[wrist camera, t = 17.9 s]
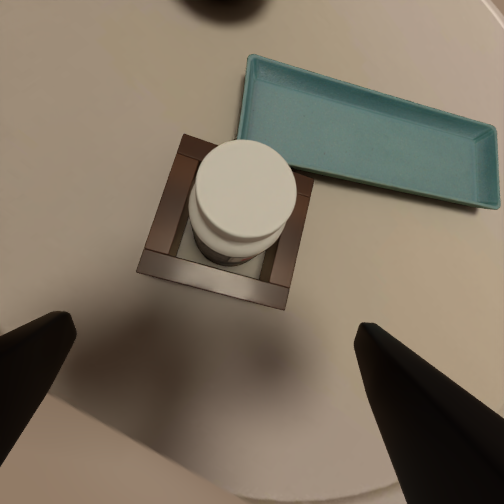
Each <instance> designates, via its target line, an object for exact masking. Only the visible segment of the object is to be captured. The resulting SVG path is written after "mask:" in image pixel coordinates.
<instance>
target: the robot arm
mask: <svg viewBox="0 0 504 504" xmlns="http://www.w3.org/2000/svg"><path fill="white" fill-rule="evenodd" d="M76 336H77V331H76V328H75V325H74V323H73V320H72V317H71V315H70V314H69V313H68V312H65V311H53V312H50V313H48V314H46V315H44V316H42V317H40V318H37V319H35V320H33V321H31V322H29V323H27V324H25V325H23V326H21V327H19V328H17V329H14V330H12V331H10V332H8V333H6V334H4V335H2V336H0V466H1V465H2V463H3V462H4V460H5V459H6V457H7V455H8V454H9V452H10V451H11V449H12V448H13V446H14V445H15V443H16V441H17V440H18V438H19V437H20V435H21V433H22V432H23V430H24V429H25V427H26V426H27V424H28V422H29V421H30V419H31V418H32V416H33V414H34V413H35V411H36V410H37V408H38V407H39V405H40V404H41V402H42V400H43V399H44V397H45V396H46V394H47V392H48V391H49V389H50V387H51V385H52V384H53V382H54V380H55V378H56V376H57V374H58V372H59V370H60V368H61V366H62V365H63V363H64V361H65V359H66V357H67V355H68V353H69V351H70V349H71V347H72V345H73V343H74V341H75V339H76ZM354 350H355V353H356V357H357V361H358V365H359V369H360V372H361V376H362V380H363V384H364V387H365V391H366V394H367V398H368V401H369V403H370V406H371V409H372V412H373V414H374V417H375V420H376V422H377V425H378V427H379V430H380V433H381V435H382V438H383V441H384V443H385V446H386V449H387V451H388V454H389V457H390V459H391V462H392V465H393V467H394V470H395V473H396V475H397V478H398V481H399V483H400V486H401V488H402V491H403V494H404V496H405V499H406V502H407V504H504V418H502V417H501V416H500V415H498V414H497V413H495V412H494V411H493V410H491V409H490V408H489V407H487V406H486V405H485V404H483V403H482V402H481V401H479V400H478V399H477V398H475V397H474V396H473V395H471V394H470V393H469V392H467V391H466V390H464V389H463V388H462V387H460V386H459V385H458V384H456V383H455V382H454V381H452V380H451V379H450V378H448V377H447V376H446V375H444V374H443V373H442V372H440V371H439V370H438V369H436V368H435V367H433V366H432V365H431V364H429V363H428V362H427V361H425V360H424V359H423V358H421V357H420V356H419V355H417V354H416V353H415V352H413V351H412V350H411V349H409V348H408V347H407V346H405V345H404V344H402V343H401V342H400V341H398V340H397V339H396V338H394V337H393V336H392V335H390V334H389V333H388V332H386V331H385V330H384V329H382V328H381V327H380V326H378V325H377V324H375V323H366V322H363V323H361V324H360V325H359V328H358V331H357V334H356V337H355V340H354Z"/></svg>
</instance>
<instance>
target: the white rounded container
mask: <svg viewBox="0 0 504 504" xmlns="http://www.w3.org/2000/svg"><path fill="white" fill-rule="evenodd" d="M296 196H297V189H296V182H295V178H294V175H293V172H292V170H291V168H290V167H289V165H288V163H287V162H286V161H285V160H284V158H283V157H282V156H281V155H280V154H279V153H277V152H276V151H275V150H274V149H272V148H270V147H269V146H267V145H265V144H262V143H260V142H257V141H252V140H233V141H229V142H226V143H223V144H221V145H219V146H217V147H216V148H214V149H213V150H212V151H211V152H209V153H208V154H207V155H206V157H205V158H204V159H203V161H202V162H201V164H200V166H199V169H198V172H197V175H196V181H195V184H194V186H193V188H192V191H191V194H190V197H189V205H188V209H189V217H190V222H191V226H192V230H193V233H194V238H195V241H196V243H197V246H198V248H199V249H200V251H201V252H202V254H203V255H204V256H205V257H206V258H208V259H209V260H210V261H212V262H214V263H216V264H219V265H223V266H237V265H241V264H243V263H245V262H247V261H249V260H251V259H252V258H254V257H255V256H257V255H258V254H260V253H262V252H263V251H265V250H266V249H268V248H269V247H270V246H272V245H273V244H274V243H275V242H276V240H277V239H278V238H279V236H280V234H281V233H282V231H283V229H284V227H285V224H286V221H287V220H288V219H289V217H290V215H291V213H292V211H293V209H294V206H295V203H296Z"/></svg>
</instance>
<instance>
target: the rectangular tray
mask: <svg viewBox="0 0 504 504" xmlns="http://www.w3.org/2000/svg"><path fill="white" fill-rule="evenodd" d="M237 140H252V141H257V142H260V143H262V144H265V145H267V146H269V147H270V148H272V149H274V150H275V151H276V152H277V153H279V154H280V155H281V156H282V157H283V158H284V160H285V161H286V162H287V163H288V165H289V167H290V168H294V169H298V170H303V171H307V172H312V173H316V174H321V175H325V176H330V177H334V178H339V179H344V180H349V181H353V182H358V183H363V184H367V185H372V186H376V187H381V188H386V189H391V190H395V191H400V192H405V193H410V194H414V195H419V196H424V197H429V198H433V199H438V200H443V201H448V202H452V203H457V204H461V205H466V206H471V207H477V208H484V209H493V210H497V209H499V208H500V206H501V202H500V186H499V164H498V144H497V131H496V128H495V127H494V126H493V125H490V124H486V123H483V122H479V121H476V120H472V119H469V118H465V117H462V116H458V115H455V114H452V113H448V112H445V111H441V110H438V109H435V108H431V107H428V106H424V105H421V104H418V103H414V102H411V101H408V100H404V99H401V98H398V97H394V96H391V95H387V94H383V93H381V92H378V91H374V90H371V89H368V88H364V87H360V86H358V85H354V84H351V83H347V82H344V81H341V80H337V79H334V78H331V77H328V76H324V75H321V74H318V73H314V72H311V71H308V70H304V69H301V68H298V67H294V66H291V65H288V64H285V63H282V62H278V61H275V60H272V59H268V58H265V57H262V56H259V55H256V54H251V55H249V56H248V58H247V66H246V75H245V83H244V93H243V100H242V109H241V115H240V123H239V127H238V134H237Z"/></svg>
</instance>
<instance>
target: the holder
mask: <svg viewBox="0 0 504 504" xmlns="http://www.w3.org/2000/svg"><path fill="white" fill-rule="evenodd" d="M217 146H218V145H215V144H212V143H210V142H207V141H204V140H201V139H198V138H195V137H192V136H189V135H187V134H183V136H182V139H181V142H180V145H179V148H178V151H177V154H176V157H175V160H174V162H173V165H172V168H171V171H170V174H169V177H168V180H167V183H166V186H165V189H164V192H163V194H162V197H161V200H160V203H159V206H158V209H157V212H156V215H155V218H154V221H153V224H152V227H151V229H150V232H149V235H148V238H147V241H146V244H145V247H144V248H145V249H144V250H143V253H142V256H141V259H140V261H139V264H138V267H137V270H136V272H137V273H141V274H145V275H149V276H152V277H156V278H160V279H164V280H168V281H172V282H176V283H179V284H183V285H187V286H191V287H195V288H199V289H203V290H207V291H210V292H214V293H218V294H222V295H226V296H230V297H234V298H237V299H241V300H245V301H249V302H253V303H257V304H261V305H264V306H268V307H272V308H276V309H280V310H285V307H286V302H287V298H288V293H289V288H290V285H291V280H292V276H293V271H294V267H295V263H296V258H297V254H298V249H299V245H300V241H301V236H302V232H303V228H304V223H305V219H306V214H307V210H308V206H309V201H310V197H311V192H312V188H313V183H314V179H313V178H310V177H307V176H304V175H301V174H298V173H296V172H293V171H292V172H293V175H294V178H295V182H296V189H297V196H296V203H295V206H294V209H293V211H292V213H291V215H290V217H289V219H288V220H287V221H286V224H285V227H284V229H283V231H282V233H281V234H280V236H279V238H278V239H277V240H276V242H275V243H274V244H273V245H272V246H270V247H269V248H268V249H267V250H266V254H265V258H264V262H263V266H262V270H261V274H260V278H259V280H258V279H254V278H250V277H247V276H243V275H239V274H236V273H232V272H228V271H225V270H221V269H217V268H214V267H210V266H206V265H203V264H199V263H196V262H192V261H188V260H185V259H181V258H177V257H176V254H177V251H178V248H179V245H180V242H181V239H182V236H183V232H184V229H185V226H186V223H187V220H188V217H189V209H188V205H189V197H190V194H191V191H192V188H193V186H194V184H195V181H196V175H197V172H198V169H199V166H200V164H201V162H202V161H203V159H204V158H205V157H206V155H207V154H208V153H209V152H211V151H212V150H213V149H214V148H216V147H217Z"/></svg>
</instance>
